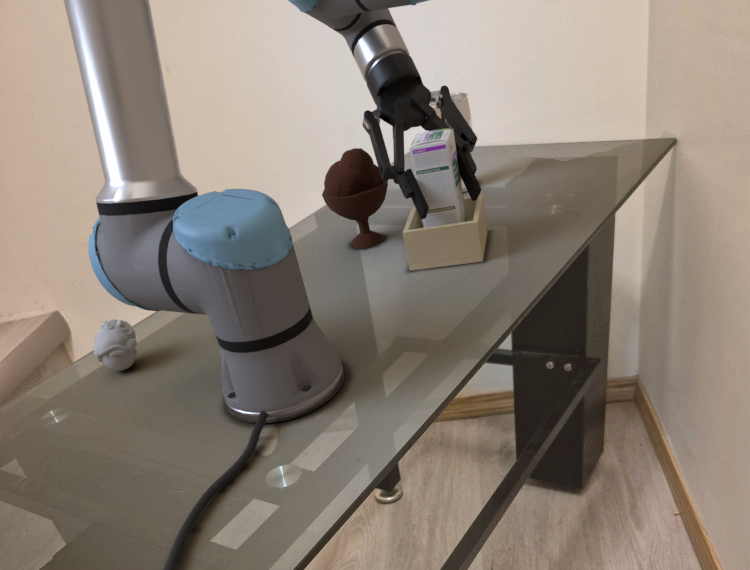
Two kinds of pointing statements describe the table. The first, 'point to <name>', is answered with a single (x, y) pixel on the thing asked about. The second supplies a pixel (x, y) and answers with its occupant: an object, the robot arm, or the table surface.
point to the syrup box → (438, 176)
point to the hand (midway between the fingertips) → (451, 204)
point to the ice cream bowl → (356, 193)
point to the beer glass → (464, 109)
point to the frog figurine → (115, 344)
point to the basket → (447, 239)
